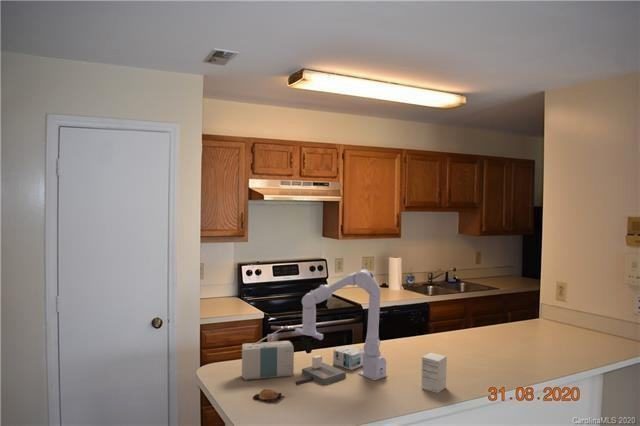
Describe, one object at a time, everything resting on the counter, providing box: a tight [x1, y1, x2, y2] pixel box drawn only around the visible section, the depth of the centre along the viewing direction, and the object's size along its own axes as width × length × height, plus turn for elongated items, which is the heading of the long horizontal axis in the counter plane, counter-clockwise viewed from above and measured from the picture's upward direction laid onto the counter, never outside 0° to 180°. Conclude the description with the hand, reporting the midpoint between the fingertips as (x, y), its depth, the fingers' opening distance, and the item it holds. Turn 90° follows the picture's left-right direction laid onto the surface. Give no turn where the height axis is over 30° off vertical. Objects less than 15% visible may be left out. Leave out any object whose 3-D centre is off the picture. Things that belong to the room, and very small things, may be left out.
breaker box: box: [301, 362, 347, 386], centre depth 202 cm, size 14×12×2 cm
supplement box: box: [421, 352, 447, 394], centre depth 191 cm, size 7×7×13 cm
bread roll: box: [252, 388, 286, 405], centre depth 180 cm, size 11×8×4 cm
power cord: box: [294, 377, 314, 386], centre depth 195 cm, size 1×8×1 cm, turn 130°
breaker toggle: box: [311, 354, 323, 369], centre depth 205 cm, size 2×4×4 cm, turn 130°
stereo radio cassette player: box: [241, 324, 295, 381], centre depth 201 cm, size 21×8×20 cm, turn 105°
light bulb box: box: [332, 345, 364, 371], centre depth 216 cm, size 11×7×11 cm
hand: (308, 352), depth 209 cm, fingers closed
